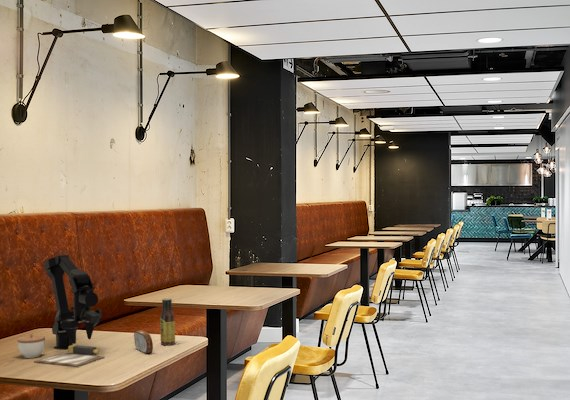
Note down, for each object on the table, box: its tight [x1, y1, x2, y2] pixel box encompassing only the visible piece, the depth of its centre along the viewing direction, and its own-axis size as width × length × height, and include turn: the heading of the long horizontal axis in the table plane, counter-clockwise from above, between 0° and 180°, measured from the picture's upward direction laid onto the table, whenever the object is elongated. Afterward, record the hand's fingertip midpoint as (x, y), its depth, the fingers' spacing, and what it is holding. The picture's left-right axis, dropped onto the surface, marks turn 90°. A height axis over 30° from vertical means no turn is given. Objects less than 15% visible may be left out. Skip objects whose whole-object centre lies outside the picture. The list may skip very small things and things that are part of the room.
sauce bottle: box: [159, 297, 176, 346], centre depth 322 cm, size 6×6×20 cm
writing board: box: [33, 351, 105, 368], centre depth 297 cm, size 22×16×1 cm
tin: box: [133, 329, 154, 354], centre depth 309 cm, size 15×3×8 cm, turn 32°
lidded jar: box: [17, 333, 46, 359], centre depth 305 cm, size 11×11×9 cm
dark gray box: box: [67, 344, 100, 355], centre depth 308 cm, size 14×3×3 cm, turn 64°
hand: (81, 341), depth 308 cm, fingers open, 9 cm apart
